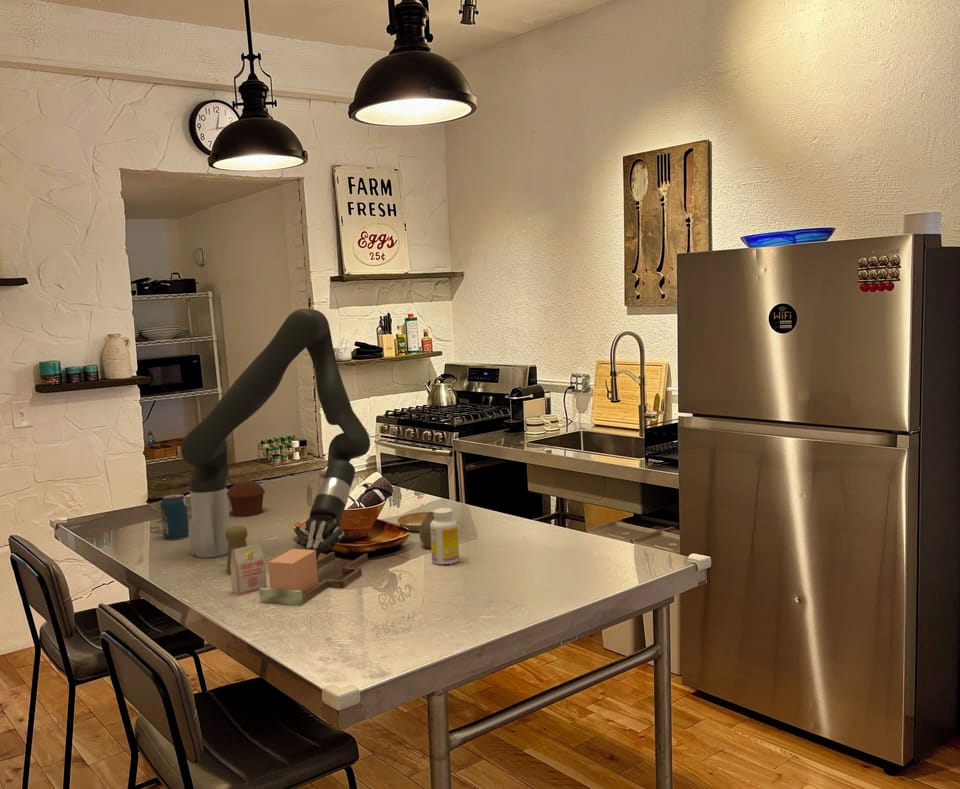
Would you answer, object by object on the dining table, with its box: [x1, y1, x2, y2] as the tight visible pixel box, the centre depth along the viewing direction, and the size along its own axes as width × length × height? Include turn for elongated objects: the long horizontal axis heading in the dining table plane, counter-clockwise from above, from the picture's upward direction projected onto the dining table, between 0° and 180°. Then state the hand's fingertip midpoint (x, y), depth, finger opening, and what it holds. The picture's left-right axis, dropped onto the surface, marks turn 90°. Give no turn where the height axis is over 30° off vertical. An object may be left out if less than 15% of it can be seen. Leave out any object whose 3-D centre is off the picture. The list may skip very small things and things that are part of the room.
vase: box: [418, 511, 435, 549], centre depth 225 cm, size 7×7×9 cm
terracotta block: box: [268, 548, 319, 595], centre depth 192 cm, size 6×10×9 cm, turn 161°
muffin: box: [227, 480, 266, 518], centre depth 271 cm, size 12×11×10 cm
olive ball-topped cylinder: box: [225, 525, 248, 575], centre depth 211 cm, size 6×6×11 cm
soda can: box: [160, 493, 190, 541], centre depth 246 cm, size 7×7×12 cm
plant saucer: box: [396, 511, 431, 532], centre depth 246 cm, size 15×15×3 cm
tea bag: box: [230, 543, 268, 596], centre depth 197 cm, size 4×7×10 cm, turn 126°
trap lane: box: [258, 551, 369, 606], centre depth 202 cm, size 18×33×3 cm, turn 162°
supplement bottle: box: [430, 507, 460, 565], centre depth 211 cm, size 7×7×13 cm
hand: (308, 565), depth 199 cm, fingers closed
